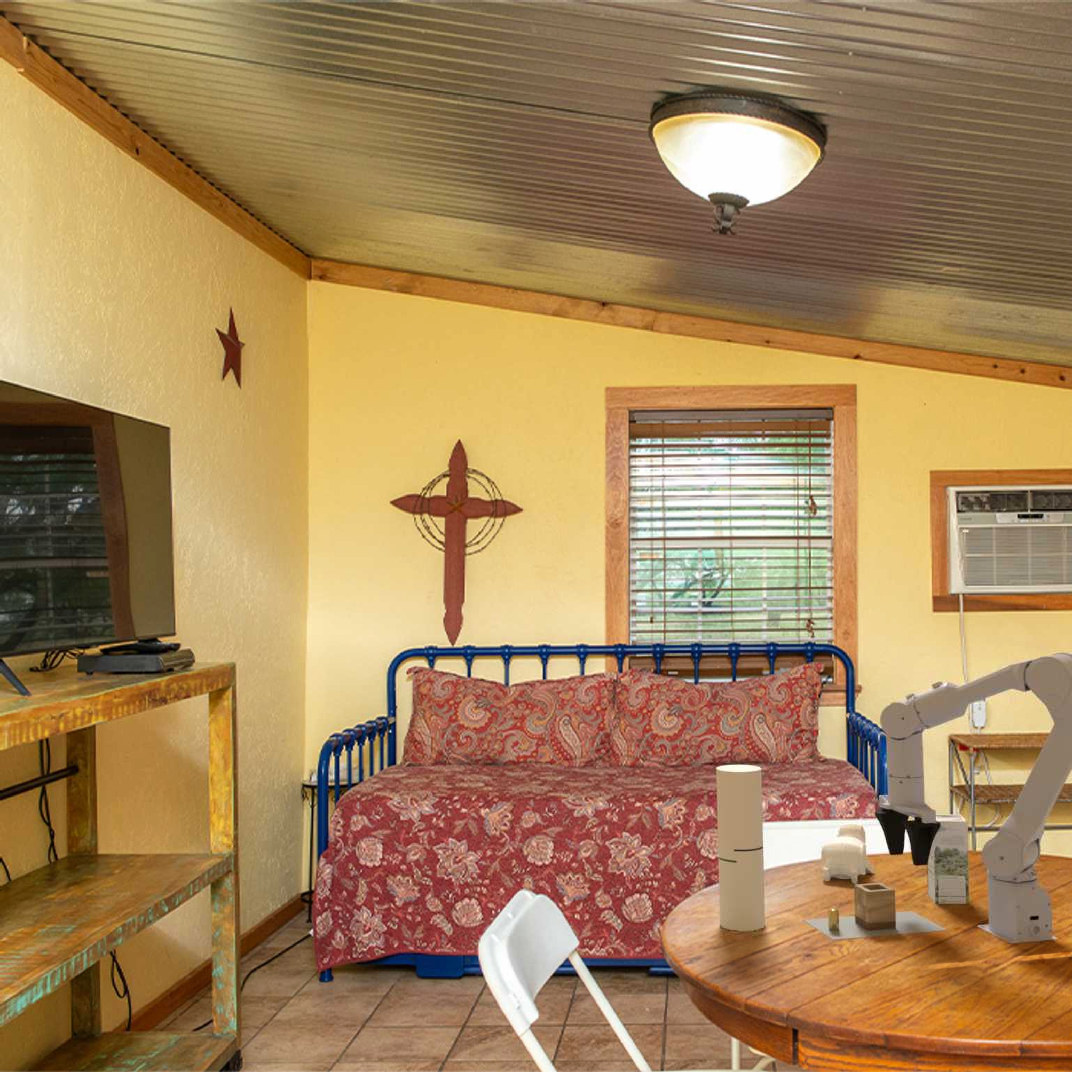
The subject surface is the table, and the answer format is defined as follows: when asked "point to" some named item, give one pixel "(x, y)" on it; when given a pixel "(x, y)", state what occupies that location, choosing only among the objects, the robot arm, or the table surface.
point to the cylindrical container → (740, 847)
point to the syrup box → (949, 862)
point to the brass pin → (833, 919)
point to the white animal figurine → (846, 854)
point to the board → (850, 929)
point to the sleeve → (875, 906)
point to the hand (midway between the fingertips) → (908, 859)
